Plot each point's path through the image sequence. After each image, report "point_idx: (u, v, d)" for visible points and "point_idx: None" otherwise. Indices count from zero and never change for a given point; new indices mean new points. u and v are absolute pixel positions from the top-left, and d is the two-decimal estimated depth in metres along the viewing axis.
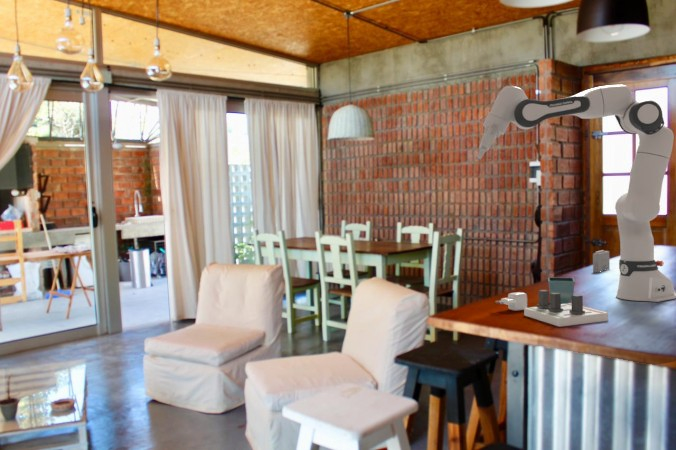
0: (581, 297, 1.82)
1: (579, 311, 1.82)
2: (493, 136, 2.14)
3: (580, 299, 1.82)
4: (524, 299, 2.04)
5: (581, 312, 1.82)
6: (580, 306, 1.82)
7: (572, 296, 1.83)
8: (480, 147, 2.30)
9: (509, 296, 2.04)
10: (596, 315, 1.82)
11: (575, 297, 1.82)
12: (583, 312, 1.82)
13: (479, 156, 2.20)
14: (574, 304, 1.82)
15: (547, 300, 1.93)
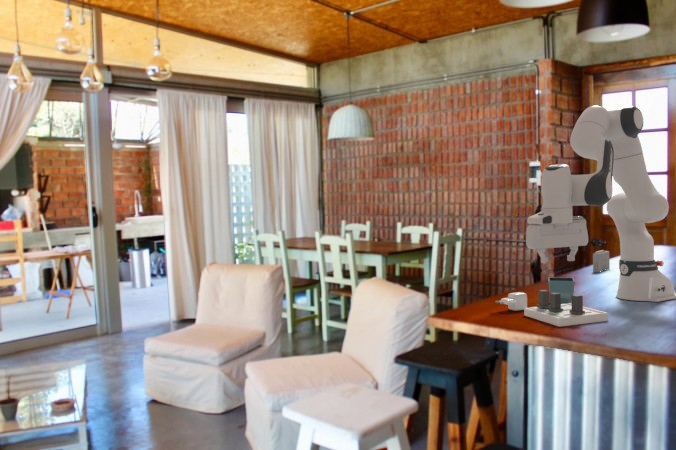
0: (581, 297, 1.82)
1: (579, 311, 1.82)
2: None
3: (580, 299, 1.82)
4: (524, 299, 2.04)
5: (581, 312, 1.82)
6: (580, 306, 1.82)
7: (572, 296, 1.83)
8: None
9: (509, 296, 2.04)
10: (596, 315, 1.82)
11: (575, 297, 1.82)
12: (583, 312, 1.82)
13: None
14: (574, 304, 1.82)
15: (547, 300, 1.93)
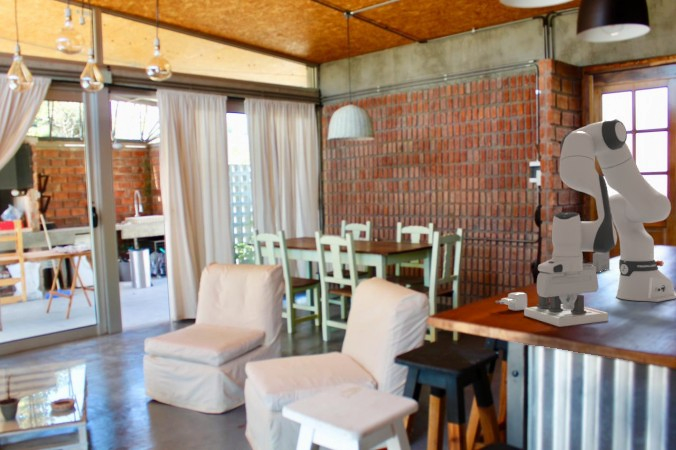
0: (582, 297, 1.82)
1: (580, 311, 1.82)
2: None
3: (581, 299, 1.82)
4: (524, 299, 2.04)
5: (582, 312, 1.82)
6: (581, 306, 1.82)
7: None
8: (567, 294, 1.81)
9: (509, 296, 2.04)
10: (596, 315, 1.82)
11: None
12: (584, 312, 1.82)
13: None
14: (575, 303, 1.83)
15: (547, 300, 1.93)
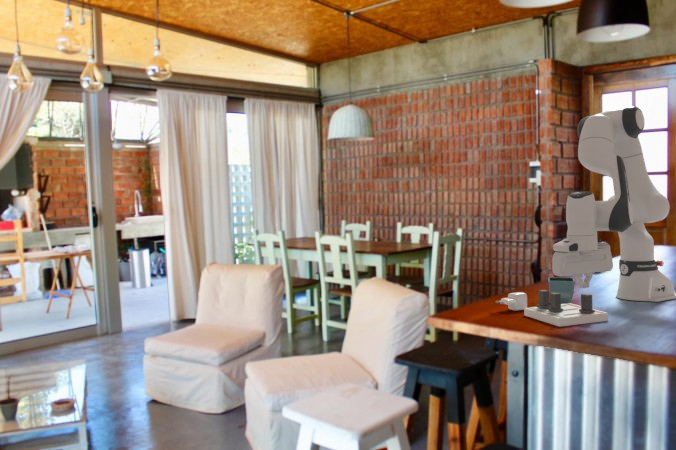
0: (591, 296, 1.83)
1: (589, 310, 1.83)
2: None
3: (590, 298, 1.83)
4: (524, 299, 2.04)
5: (591, 311, 1.83)
6: (590, 305, 1.83)
7: (582, 295, 1.84)
8: (582, 273, 1.81)
9: (509, 296, 2.04)
10: (596, 315, 1.82)
11: (585, 296, 1.83)
12: (593, 311, 1.83)
13: None
14: (584, 303, 1.83)
15: (547, 300, 1.93)
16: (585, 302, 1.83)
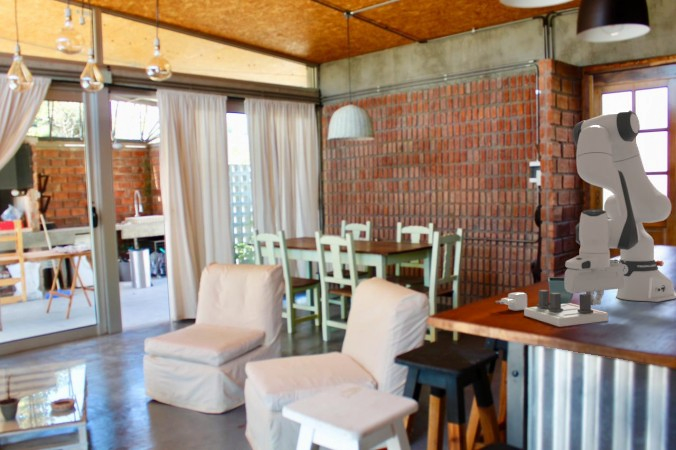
0: (589, 296, 1.83)
1: (587, 310, 1.83)
2: None
3: (588, 298, 1.83)
4: (524, 299, 2.04)
5: (589, 311, 1.83)
6: (588, 305, 1.83)
7: (580, 295, 1.84)
8: None
9: (509, 296, 2.04)
10: (596, 315, 1.82)
11: (583, 296, 1.83)
12: (591, 311, 1.83)
13: None
14: (582, 303, 1.83)
15: (547, 300, 1.93)
16: (584, 302, 1.83)
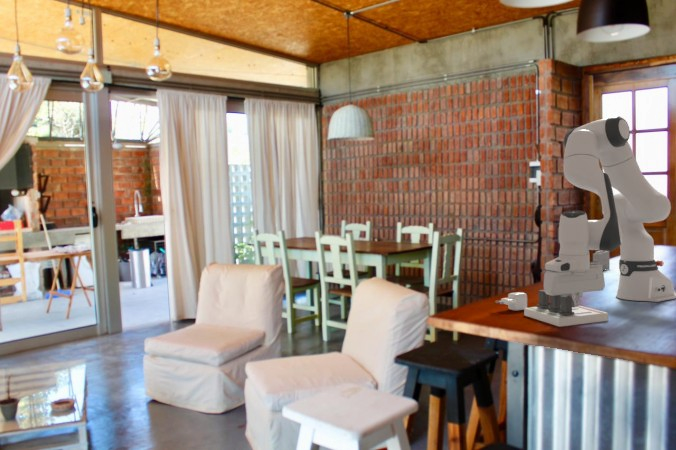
0: (570, 298, 1.81)
1: (568, 312, 1.81)
2: None
3: (569, 300, 1.81)
4: (524, 299, 2.04)
5: (570, 313, 1.81)
6: (569, 307, 1.81)
7: (561, 297, 1.82)
8: (575, 293, 1.81)
9: (509, 296, 2.04)
10: (596, 315, 1.82)
11: (564, 298, 1.81)
12: (572, 313, 1.81)
13: None
14: (563, 305, 1.81)
15: (547, 300, 1.93)
16: (565, 304, 1.81)
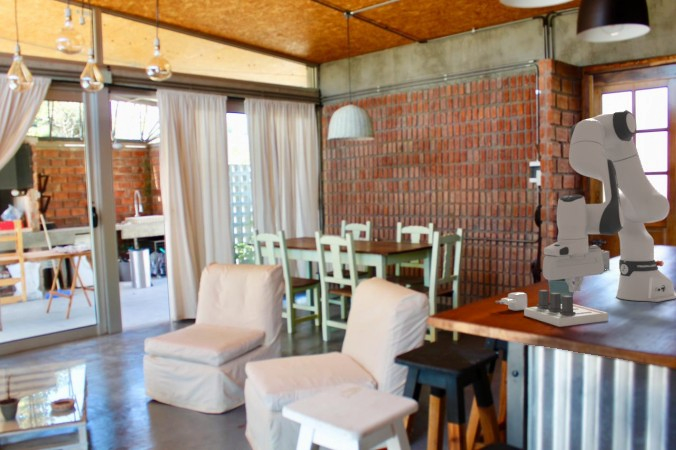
0: (571, 298, 1.81)
1: (569, 312, 1.81)
2: None
3: (570, 300, 1.81)
4: (524, 299, 2.04)
5: (571, 313, 1.81)
6: (570, 307, 1.81)
7: (562, 297, 1.82)
8: (573, 277, 1.80)
9: (509, 296, 2.04)
10: (596, 315, 1.82)
11: (565, 298, 1.81)
12: (573, 313, 1.81)
13: None
14: (565, 305, 1.81)
15: (547, 300, 1.93)
16: (566, 304, 1.81)
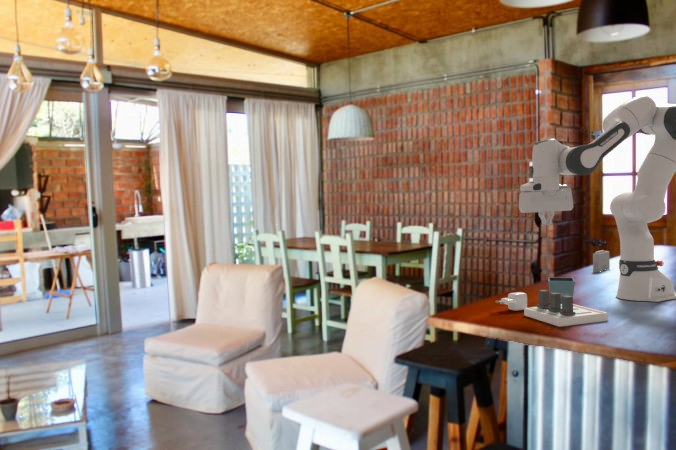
0: (571, 298, 1.81)
1: (569, 312, 1.81)
2: None
3: (570, 300, 1.81)
4: (524, 299, 2.04)
5: (571, 313, 1.81)
6: (570, 307, 1.81)
7: (562, 297, 1.82)
8: (545, 211, 2.05)
9: (509, 296, 2.04)
10: (596, 315, 1.82)
11: (565, 298, 1.81)
12: (573, 313, 1.81)
13: None
14: (565, 305, 1.81)
15: (547, 300, 1.93)
16: (566, 304, 1.81)
